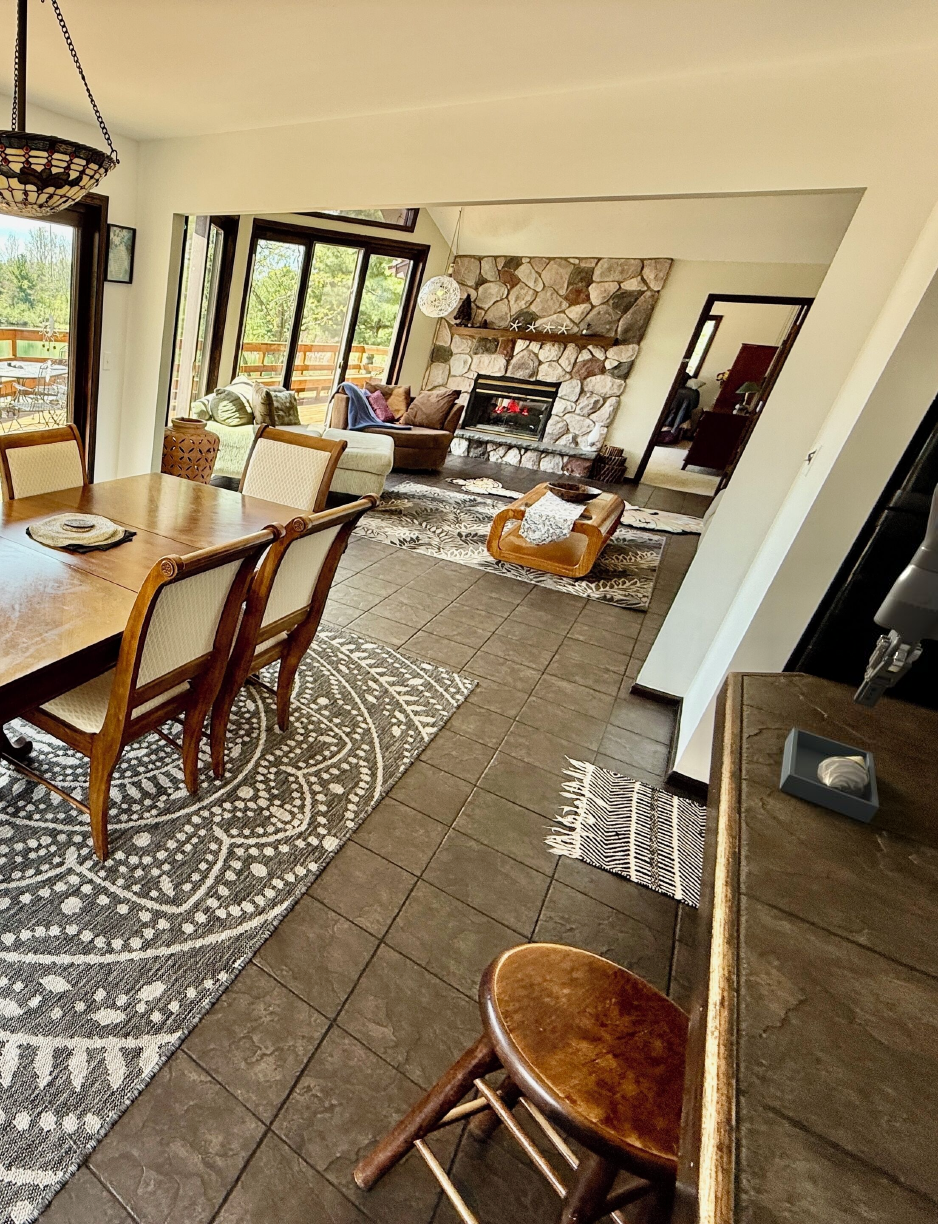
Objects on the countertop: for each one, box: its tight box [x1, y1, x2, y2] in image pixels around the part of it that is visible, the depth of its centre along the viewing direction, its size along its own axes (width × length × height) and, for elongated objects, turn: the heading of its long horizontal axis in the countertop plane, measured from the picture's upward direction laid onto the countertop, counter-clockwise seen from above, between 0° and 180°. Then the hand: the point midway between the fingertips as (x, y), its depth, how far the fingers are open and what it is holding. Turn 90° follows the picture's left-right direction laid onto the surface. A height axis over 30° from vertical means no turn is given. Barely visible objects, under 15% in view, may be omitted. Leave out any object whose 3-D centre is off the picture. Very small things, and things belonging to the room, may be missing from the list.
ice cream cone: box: [817, 757, 869, 792], centre depth 95 cm, size 5×5×15 cm
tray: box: [779, 727, 880, 824], centre depth 98 cm, size 20×9×3 cm, turn 133°
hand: (862, 703), depth 98 cm, fingers closed
